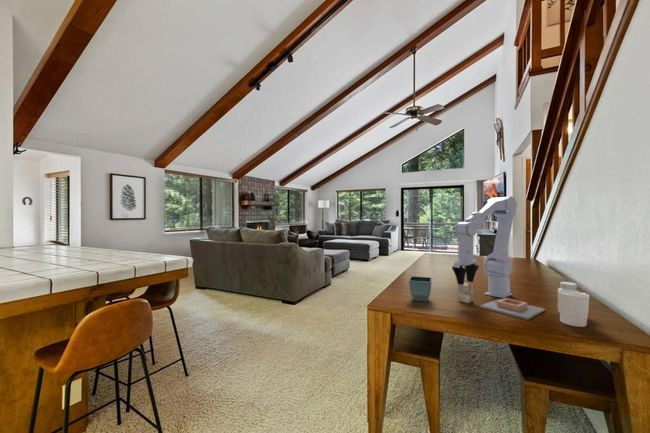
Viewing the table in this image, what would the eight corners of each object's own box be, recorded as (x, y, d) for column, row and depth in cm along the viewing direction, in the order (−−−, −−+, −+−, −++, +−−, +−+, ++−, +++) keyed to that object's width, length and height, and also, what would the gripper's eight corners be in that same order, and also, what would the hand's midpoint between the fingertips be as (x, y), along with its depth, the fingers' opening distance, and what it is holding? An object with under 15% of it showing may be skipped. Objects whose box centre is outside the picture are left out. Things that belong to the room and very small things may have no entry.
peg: (463, 299, 124) (463, 282, 124) (472, 301, 121) (472, 284, 121) (458, 300, 122) (458, 284, 122) (467, 303, 118) (467, 285, 118)
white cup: (551, 319, 100) (552, 290, 100) (572, 318, 101) (573, 289, 101) (573, 328, 92) (573, 297, 92) (595, 327, 93) (596, 296, 93)
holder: (498, 300, 122) (499, 293, 122) (544, 310, 109) (544, 303, 109) (480, 307, 112) (480, 300, 112) (527, 319, 99) (527, 311, 99)
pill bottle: (583, 316, 103) (583, 285, 103) (563, 315, 104) (563, 284, 104) (572, 310, 109) (572, 281, 109) (553, 309, 110) (554, 280, 110)
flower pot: (408, 301, 120) (408, 280, 120) (410, 296, 128) (410, 275, 128) (431, 304, 117) (431, 282, 117) (431, 298, 125) (431, 277, 125)
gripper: (465, 248, 128) (465, 279, 129) (447, 250, 120) (446, 283, 120) (481, 250, 123) (481, 282, 123) (463, 252, 114) (463, 287, 114)
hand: (465, 283), depth 121 cm, fingers open, 7 cm apart
